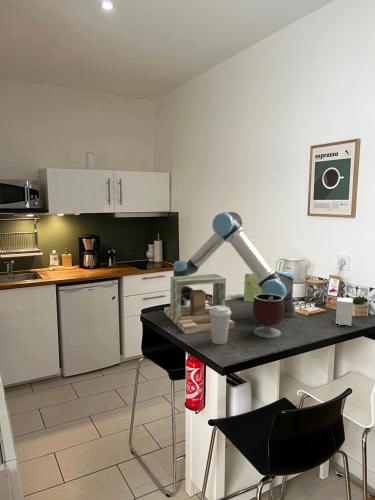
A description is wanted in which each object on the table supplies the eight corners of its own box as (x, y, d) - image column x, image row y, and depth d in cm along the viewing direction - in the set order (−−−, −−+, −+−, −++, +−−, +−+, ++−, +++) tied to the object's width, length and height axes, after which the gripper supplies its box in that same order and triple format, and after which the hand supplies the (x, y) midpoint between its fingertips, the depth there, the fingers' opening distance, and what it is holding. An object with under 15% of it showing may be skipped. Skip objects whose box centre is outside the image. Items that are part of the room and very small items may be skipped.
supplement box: (351, 323, 196) (353, 298, 195) (351, 327, 190) (352, 302, 188) (336, 320, 199) (337, 296, 198) (335, 325, 193) (336, 300, 191)
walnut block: (205, 315, 195) (205, 292, 193) (194, 316, 193) (194, 293, 191) (200, 312, 200) (201, 289, 199) (189, 313, 198) (190, 290, 197)
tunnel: (234, 328, 185) (235, 283, 182) (185, 333, 177) (186, 286, 174) (207, 308, 217) (207, 270, 214) (164, 312, 209) (164, 272, 206)
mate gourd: (250, 327, 187) (251, 287, 184) (279, 328, 187) (281, 287, 184) (254, 339, 172) (256, 295, 169) (286, 340, 171) (288, 296, 168)
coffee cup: (207, 337, 173) (207, 305, 171) (228, 337, 173) (229, 304, 171) (210, 345, 163) (210, 311, 161) (232, 345, 164) (233, 311, 162)
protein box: (269, 303, 232) (270, 277, 229) (243, 301, 235) (244, 276, 233) (269, 298, 242) (270, 274, 240) (244, 296, 245) (245, 272, 243)
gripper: (206, 297, 217) (222, 307, 197) (163, 301, 209) (176, 312, 189) (206, 284, 216) (222, 293, 196) (163, 287, 208) (176, 297, 188)
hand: (199, 302), depth 193 cm, fingers open, 13 cm apart
